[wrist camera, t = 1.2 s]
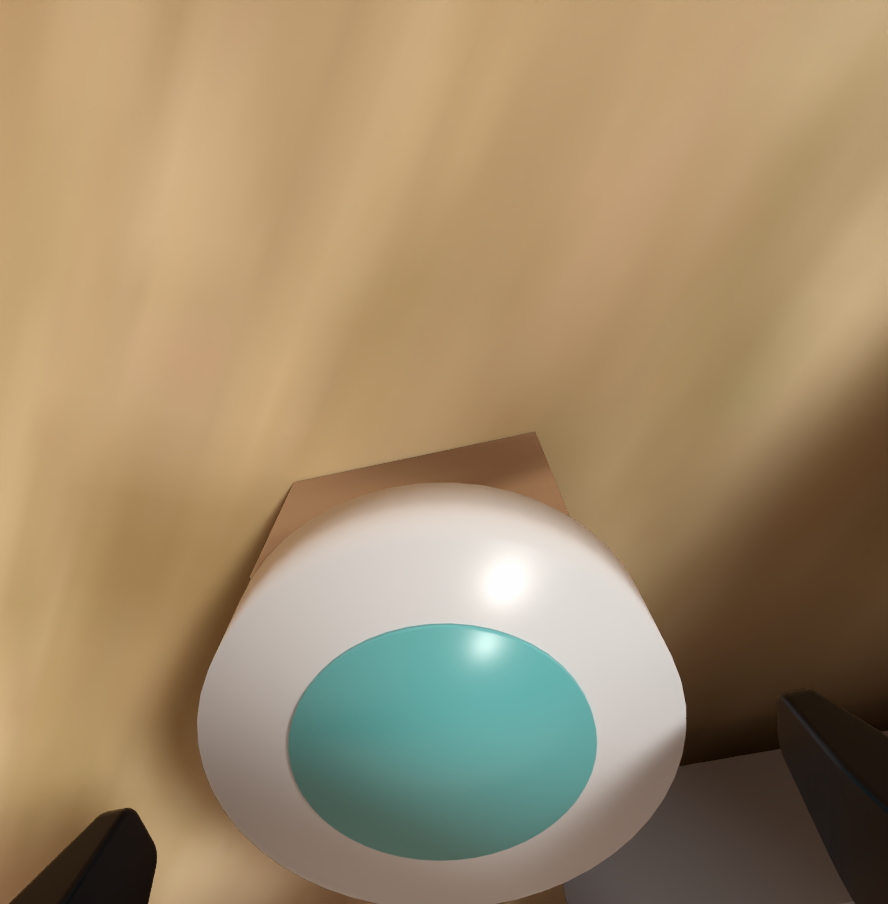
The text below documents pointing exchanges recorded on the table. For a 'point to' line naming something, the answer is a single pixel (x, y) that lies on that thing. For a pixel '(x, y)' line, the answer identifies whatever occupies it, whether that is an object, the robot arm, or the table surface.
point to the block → (424, 480)
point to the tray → (721, 843)
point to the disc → (441, 700)
